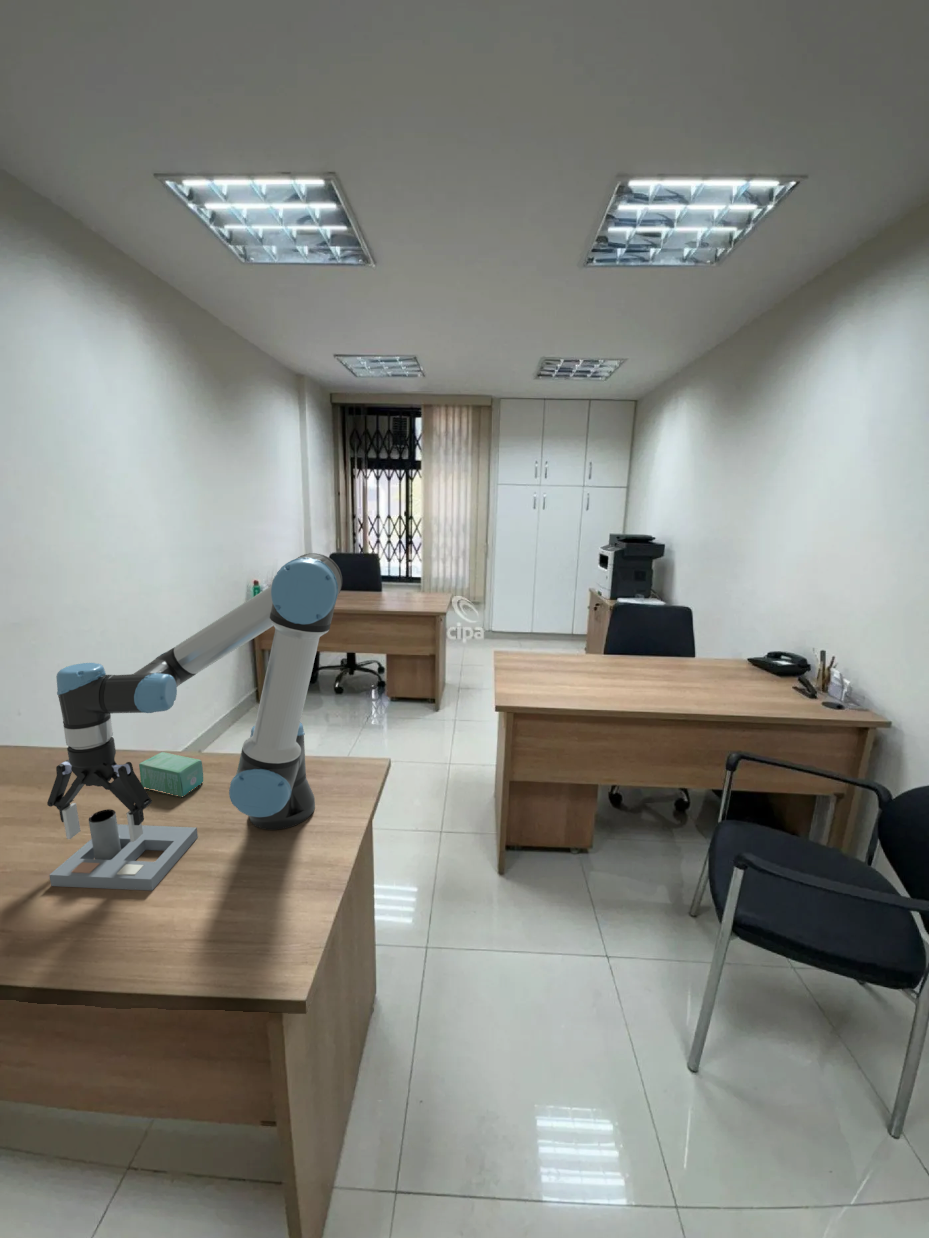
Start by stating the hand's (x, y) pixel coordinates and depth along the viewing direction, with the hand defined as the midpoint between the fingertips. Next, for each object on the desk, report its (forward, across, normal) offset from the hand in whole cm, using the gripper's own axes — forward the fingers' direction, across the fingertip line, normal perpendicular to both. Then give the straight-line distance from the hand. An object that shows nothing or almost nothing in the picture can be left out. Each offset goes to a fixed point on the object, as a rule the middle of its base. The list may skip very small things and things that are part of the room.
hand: (105, 836), depth 104 cm
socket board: (+5, -4, 0) cm, 7 cm away
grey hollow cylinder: (+6, 0, 0) cm, 6 cm away
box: (+6, +3, -28) cm, 29 cm away
